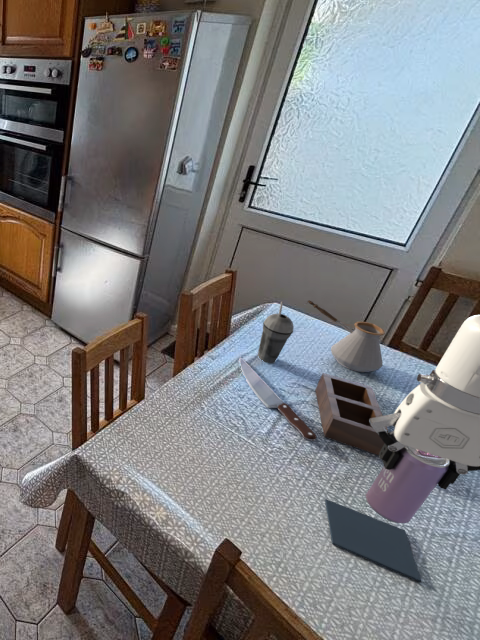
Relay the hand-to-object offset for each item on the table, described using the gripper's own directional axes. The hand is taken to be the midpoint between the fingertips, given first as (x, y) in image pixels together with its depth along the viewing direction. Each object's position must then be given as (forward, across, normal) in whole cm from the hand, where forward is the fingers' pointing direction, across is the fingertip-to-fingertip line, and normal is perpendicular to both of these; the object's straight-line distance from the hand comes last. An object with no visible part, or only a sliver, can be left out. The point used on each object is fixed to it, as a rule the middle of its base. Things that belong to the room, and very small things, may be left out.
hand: (412, 471), depth 70 cm
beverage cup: (+19, -15, +52) cm, 57 cm away
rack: (+18, +1, +34) cm, 39 cm away
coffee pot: (+19, +2, +64) cm, 67 cm away
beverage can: (+10, 0, 0) cm, 10 cm away
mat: (+18, 0, 0) cm, 18 cm away
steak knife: (+19, -14, +34) cm, 41 cm away
